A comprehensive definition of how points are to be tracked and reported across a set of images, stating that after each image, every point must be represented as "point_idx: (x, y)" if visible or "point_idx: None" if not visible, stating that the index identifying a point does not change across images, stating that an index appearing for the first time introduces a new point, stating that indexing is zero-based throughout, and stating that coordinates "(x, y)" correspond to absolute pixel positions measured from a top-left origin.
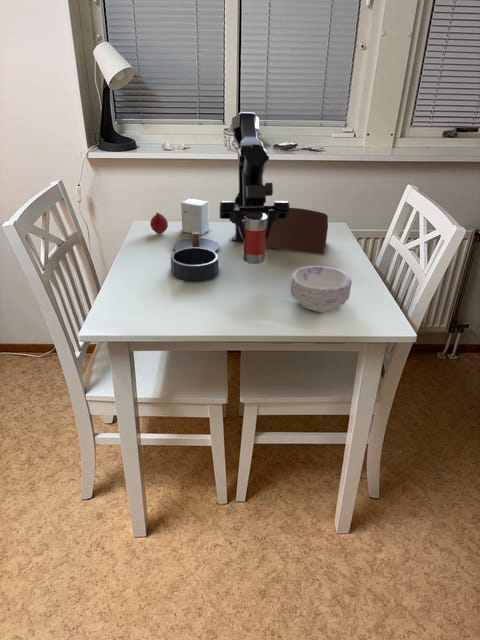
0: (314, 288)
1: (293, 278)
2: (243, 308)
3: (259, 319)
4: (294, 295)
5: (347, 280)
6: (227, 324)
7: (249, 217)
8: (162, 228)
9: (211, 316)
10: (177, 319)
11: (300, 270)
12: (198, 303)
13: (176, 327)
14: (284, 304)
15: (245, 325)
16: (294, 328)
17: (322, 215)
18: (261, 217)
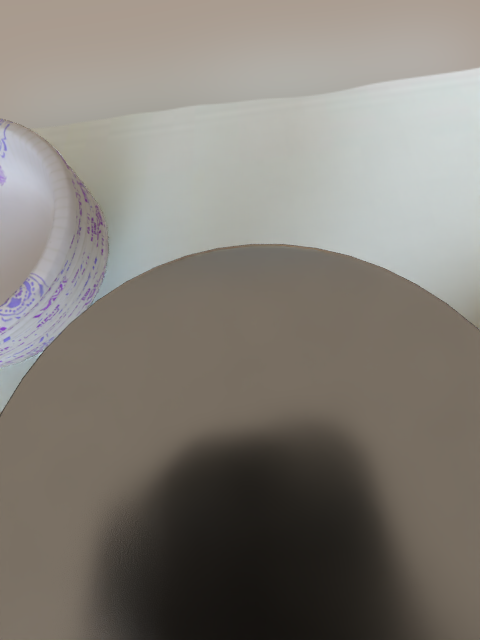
0: (2, 119)
1: (69, 193)
2: (283, 218)
3: (229, 166)
4: (97, 206)
5: None
6: (320, 130)
7: (424, 380)
8: None
9: (377, 161)
10: (477, 132)
11: (17, 289)
12: (443, 229)
13: (463, 97)
14: (146, 260)
15: (268, 132)
16: (132, 138)
17: None
18: (116, 429)
